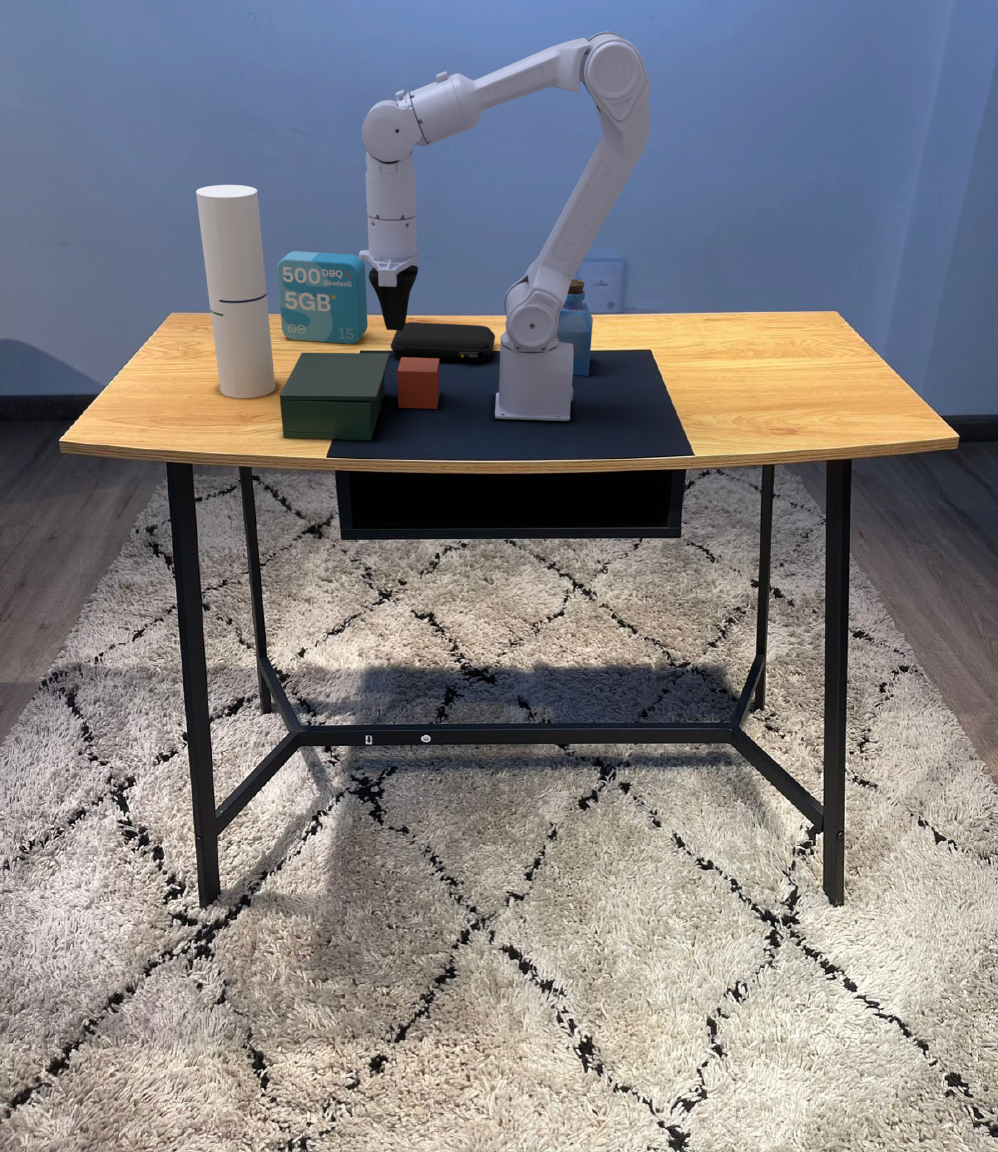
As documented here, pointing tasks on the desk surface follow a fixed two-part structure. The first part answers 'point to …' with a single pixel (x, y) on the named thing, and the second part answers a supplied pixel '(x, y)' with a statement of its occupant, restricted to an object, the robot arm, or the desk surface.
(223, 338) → the cylindrical container
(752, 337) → the desk surface
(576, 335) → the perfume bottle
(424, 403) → the block
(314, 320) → the data package
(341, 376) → the bin lid
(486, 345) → the carrying case
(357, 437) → the bin
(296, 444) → the desk surface
